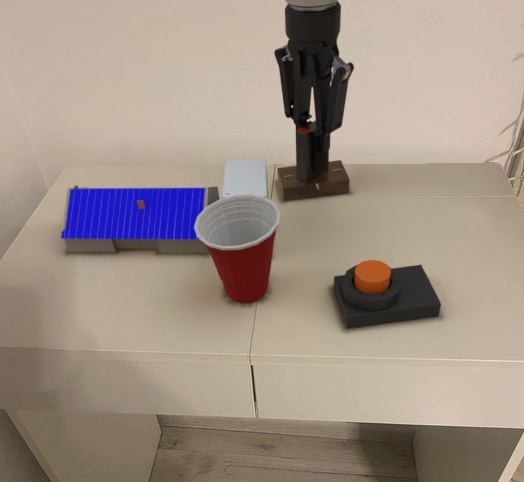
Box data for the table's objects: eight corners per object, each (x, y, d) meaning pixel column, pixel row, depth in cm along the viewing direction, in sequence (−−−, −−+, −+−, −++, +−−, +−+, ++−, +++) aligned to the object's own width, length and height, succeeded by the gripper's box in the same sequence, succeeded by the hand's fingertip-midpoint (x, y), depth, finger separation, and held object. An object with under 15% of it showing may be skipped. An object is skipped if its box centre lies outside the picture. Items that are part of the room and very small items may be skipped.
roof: (67, 255, 85) (50, 214, 80) (94, 204, 94) (81, 164, 89) (207, 256, 82) (199, 214, 77) (221, 204, 92) (215, 163, 86)
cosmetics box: (271, 257, 81) (267, 195, 73) (228, 260, 82) (219, 198, 74) (270, 217, 88) (266, 155, 81) (230, 219, 89) (222, 158, 81)
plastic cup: (194, 282, 79) (179, 209, 70) (262, 256, 82) (255, 184, 73) (226, 328, 72) (214, 254, 63) (298, 299, 75) (296, 224, 66)
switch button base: (419, 276, 76) (423, 253, 73) (438, 316, 71) (444, 293, 68) (333, 288, 76) (334, 265, 73) (346, 329, 70) (348, 306, 67)
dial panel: (338, 168, 97) (338, 154, 95) (351, 198, 90) (352, 183, 88) (276, 176, 97) (275, 162, 95) (284, 206, 90) (284, 192, 88)
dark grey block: (318, 164, 93) (319, 116, 87) (328, 168, 92) (329, 120, 86) (296, 177, 91) (295, 129, 85) (306, 182, 90) (305, 133, 84)
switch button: (383, 270, 72) (385, 257, 71) (393, 292, 69) (395, 279, 68) (350, 274, 72) (351, 262, 70) (358, 296, 69) (359, 284, 67)
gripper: (252, 0, 76) (263, 160, 93) (339, 21, 68) (333, 191, 85) (290, -14, 79) (294, 142, 96) (376, 4, 71) (364, 171, 88)
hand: (312, 165), depth 91 cm, fingers closed on dark grey block, 2 cm apart
